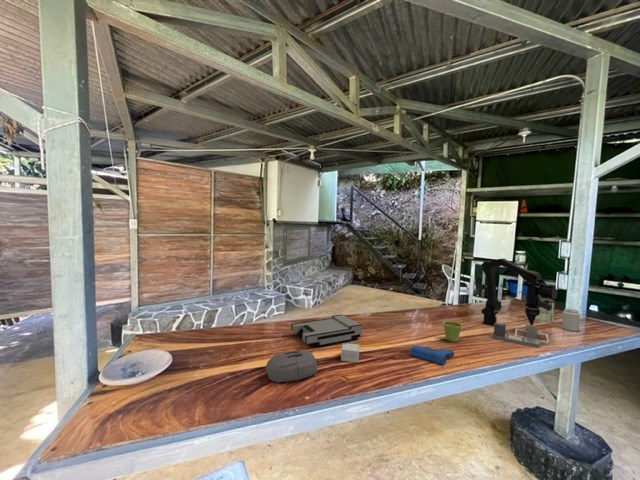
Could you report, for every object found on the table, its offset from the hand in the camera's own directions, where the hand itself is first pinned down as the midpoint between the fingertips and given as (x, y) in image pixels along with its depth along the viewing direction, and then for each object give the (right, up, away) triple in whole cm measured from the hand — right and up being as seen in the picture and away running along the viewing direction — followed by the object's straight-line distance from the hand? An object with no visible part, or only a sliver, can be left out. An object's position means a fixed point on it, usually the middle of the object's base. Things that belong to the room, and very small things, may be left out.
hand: (531, 322), depth 154 cm
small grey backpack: (-130, -8, -44) cm, 137 cm away
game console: (-115, -7, -6) cm, 115 cm away
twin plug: (-19, -6, -2) cm, 20 cm away
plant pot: (-48, -8, -7) cm, 49 cm away
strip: (-13, -8, -6) cm, 17 cm away
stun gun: (-66, -8, -26) cm, 71 cm away
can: (+33, -8, +12) cm, 36 cm away
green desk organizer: (+31, -8, +30) cm, 44 cm away
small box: (-104, -8, -29) cm, 109 cm away
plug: (0, -8, 0) cm, 8 cm away
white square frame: (0, -8, 0) cm, 8 cm away
